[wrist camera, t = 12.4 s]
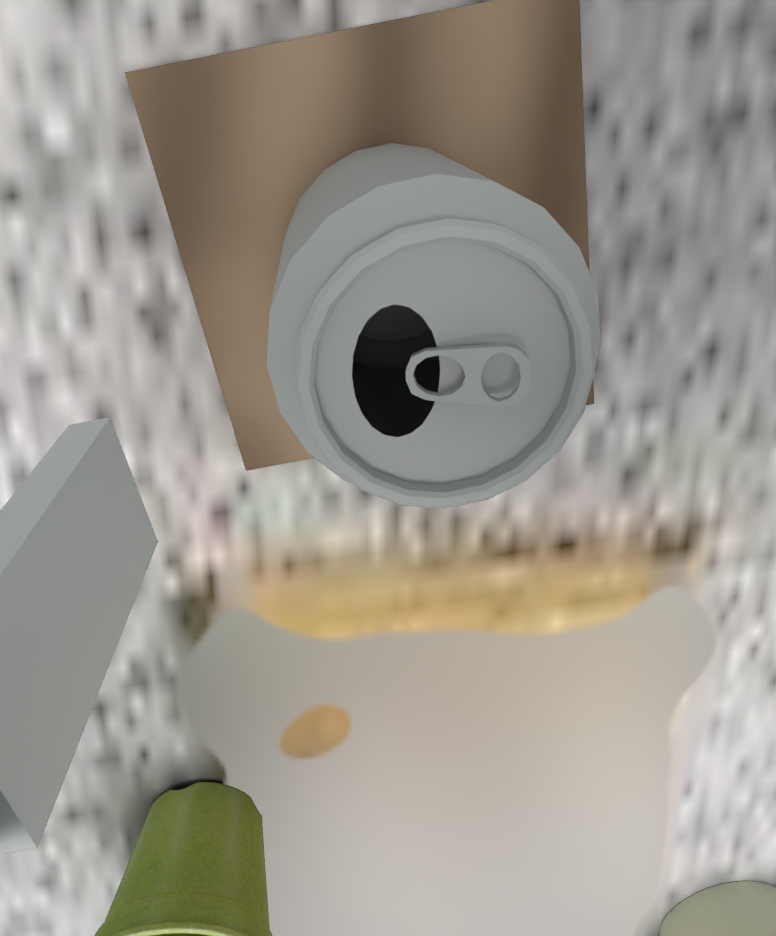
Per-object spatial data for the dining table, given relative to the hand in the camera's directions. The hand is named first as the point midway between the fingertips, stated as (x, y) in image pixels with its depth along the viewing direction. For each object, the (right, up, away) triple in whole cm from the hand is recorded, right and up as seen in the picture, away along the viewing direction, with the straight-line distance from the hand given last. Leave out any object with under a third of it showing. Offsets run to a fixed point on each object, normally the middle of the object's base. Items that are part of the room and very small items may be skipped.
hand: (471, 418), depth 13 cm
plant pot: (-12, -20, +26) cm, 35 cm away
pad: (-2, +7, +13) cm, 15 cm away
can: (-1, +6, +12) cm, 14 cm away
